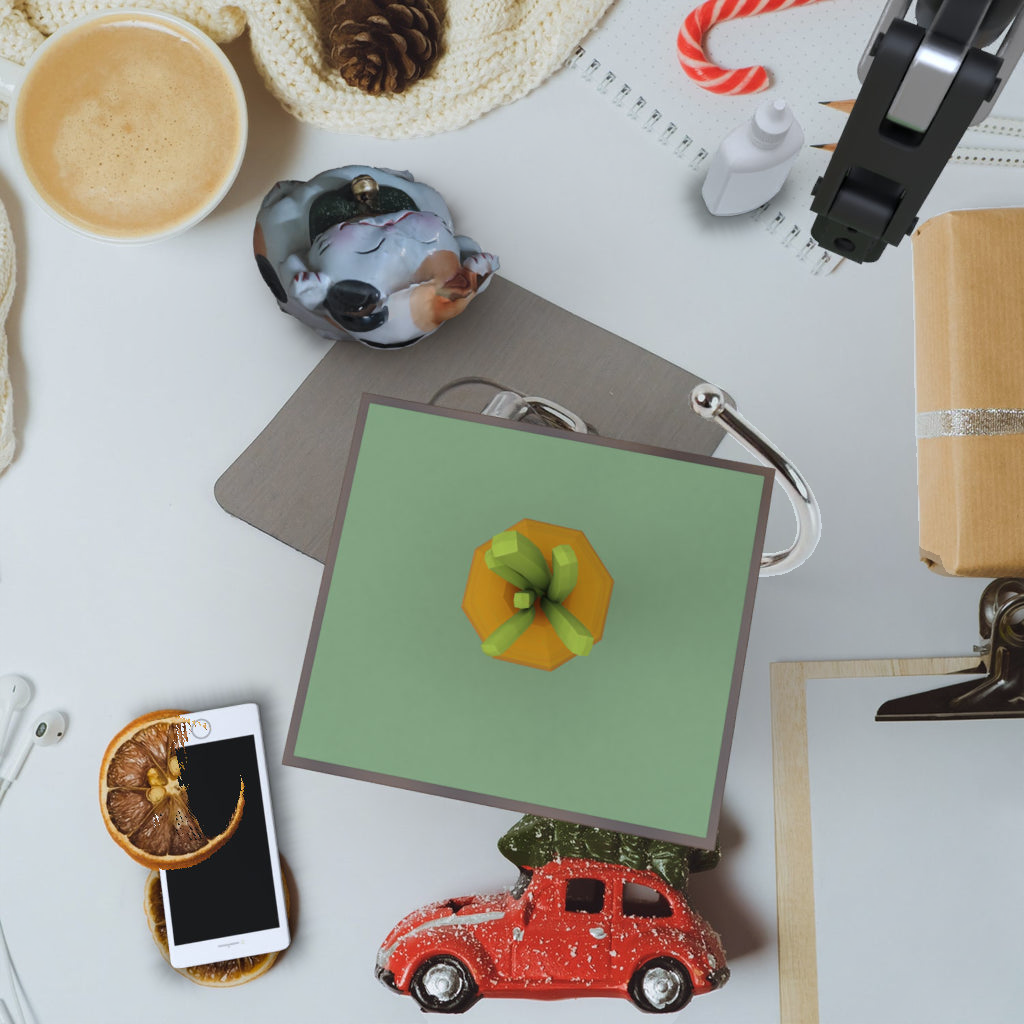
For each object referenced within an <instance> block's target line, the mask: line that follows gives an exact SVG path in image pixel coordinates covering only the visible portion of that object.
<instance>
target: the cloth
mask: <svg viewBox="0 0 1024 1024" xmlns="http://www.w3.org/2000/svg"><path fill="white" fill-rule="evenodd" d="M763 484H764V476H760V475H755V474H750V473H744V472H739V471H734V470H728V469H723V468H717V467H712V466H707V465H701V464H696V463H690V462H685V461H680V460H674V459H669V458H664V457H658V456H653V455H647V454H642V453H637V452H631V451H626V450H621V449H615V448H610V447H604V446H599V445H594V444H588V443H583V442H578V441H572V440H567V439H561V438H556V437H551V436H545V435H540V434H535V433H529V432H524V431H518V430H513V429H508V428H502V427H497V426H491V425H486V424H481V423H475V422H470V421H465V420H459V419H454V418H448V417H443V416H438V415H432V414H427V413H422V412H416V411H411V410H405V409H400V408H395V407H389V406H384V405H379V404H373V403H370V405H369V410H368V414H367V419H366V424H365V428H364V433H363V437H362V442H361V447H360V451H359V456H358V460H357V465H356V470H355V474H354V479H353V483H352V488H351V493H350V497H349V502H348V506H347V511H346V516H345V520H344V525H343V530H342V534H341V539H340V543H339V548H338V553H337V557H336V562H335V566H334V571H333V576H332V580H331V585H330V589H329V594H328V599H327V603H326V608H325V612H324V617H323V622H322V626H321V631H320V636H319V640H318V645H317V649H316V654H315V659H314V663H313V668H312V672H311V677H310V682H309V686H308V691H307V695H306V700H305V705H304V709H303V714H302V719H301V723H300V728H299V732H298V737H297V742H296V746H295V751H294V756H297V757H302V758H307V759H312V760H317V761H322V762H327V763H332V764H337V765H342V766H347V767H352V768H357V769H362V770H367V771H372V772H377V773H382V774H387V775H392V776H397V777H402V778H407V779H412V780H417V781H422V782H427V783H432V784H437V785H442V786H447V787H452V788H457V789H462V790H467V791H472V792H477V793H482V794H487V795H492V796H497V797H502V798H507V799H512V800H517V801H522V802H527V803H532V804H537V805H542V806H547V807H552V808H557V809H562V810H567V811H572V812H577V813H582V814H587V815H592V816H597V817H602V818H607V819H612V820H617V821H622V822H627V823H632V824H637V825H642V826H647V827H652V828H657V829H662V830H667V831H672V832H677V833H682V834H687V835H692V836H697V837H702V838H706V836H707V830H708V824H709V818H710V812H711V805H712V799H713V793H714V787H715V781H716V774H717V768H718V762H719V756H720V750H721V744H722V737H723V731H724V725H725V719H726V713H727V706H728V700H729V694H730V688H731V682H732V675H733V669H734V663H735V657H736V651H737V645H738V638H739V632H740V626H741V620H742V614H743V607H744V601H745V595H746V589H747V583H748V576H749V570H750V564H751V558H752V552H753V546H754V539H755V533H756V527H757V521H758V515H759V508H760V502H761V496H762V490H763ZM524 518H528V519H532V520H536V521H541V522H545V523H550V524H554V525H558V526H563V527H567V528H571V529H576V530H580V531H583V533H584V534H585V536H586V537H587V539H588V540H589V542H590V544H591V545H592V547H593V548H594V550H595V551H596V553H597V555H598V556H599V558H600V559H601V561H602V562H603V564H604V566H605V567H606V569H607V570H608V572H609V573H610V575H611V577H612V578H613V580H614V586H613V590H612V595H611V600H610V604H609V609H608V613H607V618H606V622H605V627H604V632H603V636H602V640H601V641H599V642H598V643H596V644H594V645H593V646H592V649H591V651H590V653H589V655H588V656H579V655H577V656H575V657H574V658H572V659H571V660H569V661H568V662H566V663H564V664H563V665H561V666H560V667H558V668H556V669H555V670H553V671H552V672H549V671H545V670H540V669H536V668H532V667H528V666H523V665H519V664H515V663H510V662H506V661H502V660H498V659H493V658H492V657H491V656H487V655H486V654H485V653H484V652H483V651H482V648H481V644H482V643H483V642H482V641H481V639H480V637H479V636H478V634H477V632H476V631H475V629H474V627H473V626H472V624H471V623H470V621H469V619H468V618H467V616H466V614H465V613H464V611H463V610H462V608H461V605H462V601H463V597H464V593H465V589H466V584H467V580H468V576H469V572H470V568H471V563H472V559H473V555H474V551H475V549H476V548H477V547H479V546H481V545H482V544H484V543H485V542H487V541H489V540H490V539H492V538H493V536H495V535H497V534H499V533H501V532H503V531H505V530H506V529H508V528H510V527H511V526H513V525H515V524H516V523H518V522H519V521H521V520H523V519H524Z"/></svg>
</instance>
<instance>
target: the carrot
mask: <svg viewBox="0 0 1024 1024" xmlns="http://www.w3.org/2000/svg"><path fill="white" fill-rule="evenodd" d="M613 586H614V580H613V578H612V577H611V575H610V573H609V572H608V570H607V569H606V567H605V566H604V564H603V562H602V561H601V559H600V558H599V556H598V555H597V553H596V551H595V550H594V548H593V547H592V545H591V544H590V542H589V540H588V539H587V537H586V536H585V534H584V533H583V531H580V530H576V529H571V528H567V527H563V526H558V525H554V524H550V523H545V522H541V521H536V520H532V519H528V518H524V519H523V520H521V521H519V522H518V523H516V524H515V525H513V526H511V527H510V528H508V529H506V530H505V531H503V532H501V533H499V534H497V535H495V536H493V538H492V539H490V540H489V541H487V542H485V543H484V544H482V545H481V546H479V547H477V548H476V549H475V551H474V555H473V559H472V563H471V568H470V572H469V576H468V580H467V584H466V589H465V593H464V597H463V601H462V605H461V608H462V610H463V611H464V613H465V614H466V616H467V618H468V619H469V621H470V623H471V624H472V626H473V627H474V629H475V631H476V632H477V634H478V636H479V637H480V639H481V641H482V642H483V643H482V644H481V648H482V651H483V652H484V653H485V654H486V655H487V656H491V657H492V658H493V659H498V660H502V661H506V662H510V663H515V664H519V665H523V666H528V667H532V668H536V669H540V670H545V671H549V672H552V671H553V670H555V669H556V668H558V667H560V666H561V665H563V664H564V663H566V662H568V661H569V660H571V659H572V658H574V657H575V656H577V655H579V656H588V655H589V653H590V651H591V649H592V646H593V645H594V644H596V643H598V642H599V641H601V640H602V636H603V632H604V627H605V622H606V618H607V613H608V609H609V604H610V600H611V595H612V590H613Z"/></svg>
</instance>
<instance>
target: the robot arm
mask: <svg viewBox="0 0 1024 1024" xmlns="http://www.w3.org/2000/svg"><path fill="white" fill-rule="evenodd" d="M913 1H914V0H887V1H886V3H885V5H884V7H883V9H882V11H881V14H880V15H879V19H878V20H877V22H876V25H875V27H874V29H873V31H872V33H871V35H870V38H869V40H868V42H867V45H866V46H865V49H864V51H863V53H862V54H861V58H860V59H859V62H858V65H857V67H856V68H857V69H856V74H857V79H858V81H859V83H860V84H861V88H860V90H859V92H858V94H857V97H856V99H855V101H854V103H853V106H852V108H851V111H850V113H849V116H848V118H847V120H846V122H845V125H844V127H843V129H842V131H841V135H840V136H839V139H838V141H837V143H836V146H835V148H834V150H833V152H832V154H831V158H830V160H829V162H828V165H827V167H826V169H825V172H824V174H823V176H821V175H819V176H818V177H817V179H816V181H815V184H814V185H813V187H812V189H811V192H810V193H809V194H810V196H812V197H813V200H812V202H811V204H810V207H809V211H810V212H813V213H816V214H817V215H816V218H815V219H814V221H813V224H812V226H811V228H810V235H811V238H812V239H813V240H814V241H815V242H817V243H818V244H817V247H819V248H822V249H824V250H827V251H828V252H831V253H833V254H836V255H838V256H840V257H841V258H842V257H843V258H845V259H847V260H849V261H852V262H854V263H857V264H859V265H862V264H863V263H867V264H871V263H876V262H878V261H879V260H880V259H881V257H882V255H883V253H884V251H885V250H886V249H887V246H888V245H890V246H893V247H896V248H898V247H899V246H900V244H901V242H902V240H903V239H904V237H905V235H906V236H908V237H911V235H912V233H913V232H914V230H915V228H916V226H917V224H918V222H919V220H920V217H919V216H917V215H918V214H919V212H920V210H921V208H922V207H923V205H924V203H925V202H926V200H927V198H928V196H929V195H930V193H931V191H932V190H933V187H934V186H935V184H936V183H937V182H938V179H939V178H940V176H941V175H942V172H943V171H944V169H945V168H946V166H947V164H948V163H949V161H950V159H951V158H952V156H953V154H954V153H955V150H956V149H957V147H958V146H959V143H961V141H962V139H963V137H964V135H965V134H966V132H967V130H968V129H969V128H973V127H976V126H978V125H980V124H982V123H984V122H985V120H987V118H988V117H989V115H990V114H991V113H992V111H993V109H994V107H995V105H996V104H997V101H998V99H999V98H1000V96H1001V94H1002V92H1003V91H1004V89H1005V87H1006V85H1007V83H1008V82H1009V80H1010V78H1011V76H1012V75H1013V73H1014V71H1015V70H1016V66H1017V65H1018V63H1019V62H1020V60H1021V58H1022V56H1023V54H1024V0H916V3H915V9H914V19H915V21H916V24H915V23H913V22H911V21H907V20H906V19H905V18H906V16H907V14H908V12H909V9H910V7H911V5H912V4H913ZM1010 24H1011V25H1010ZM1009 25H1010V27H1009V28H1008V26H1009ZM1007 28H1008V30H1007V32H1006V33H1005V35H1004V38H1003V39H1002V40H1001V41H1002V42H1001V44H1000V45H999V47H998V49H997V50H996V53H995V54H994V53H991V52H988V51H985V50H983V49H984V48H987V47H990V46H991V45H992V44H993V43H995V42H996V41H997V40H998V39H999V38H1000V36H1001V35H1002V34H1003V33H1004V32H1005V30H1006V29H1007Z"/></svg>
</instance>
